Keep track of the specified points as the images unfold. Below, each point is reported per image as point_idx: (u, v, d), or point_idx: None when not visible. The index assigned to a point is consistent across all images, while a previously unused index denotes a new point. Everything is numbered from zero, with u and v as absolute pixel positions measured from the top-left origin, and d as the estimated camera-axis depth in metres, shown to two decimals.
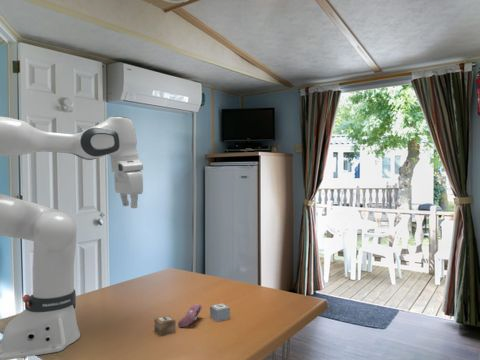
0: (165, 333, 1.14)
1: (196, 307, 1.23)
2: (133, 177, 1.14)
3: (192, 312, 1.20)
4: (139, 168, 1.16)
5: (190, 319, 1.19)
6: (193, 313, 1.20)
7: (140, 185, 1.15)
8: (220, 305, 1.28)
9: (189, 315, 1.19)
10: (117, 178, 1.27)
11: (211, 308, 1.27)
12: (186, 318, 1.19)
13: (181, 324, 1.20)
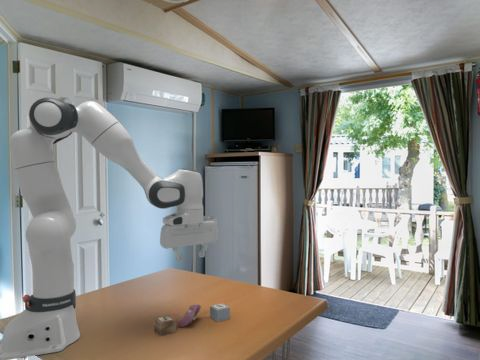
0: (165, 333, 1.14)
1: (195, 307, 1.23)
2: (162, 230, 1.19)
3: (191, 312, 1.20)
4: (168, 223, 1.17)
5: (189, 319, 1.19)
6: (192, 313, 1.20)
7: (163, 240, 1.17)
8: (220, 305, 1.28)
9: (188, 315, 1.20)
10: None
11: (211, 308, 1.27)
12: (185, 318, 1.19)
13: (180, 324, 1.20)
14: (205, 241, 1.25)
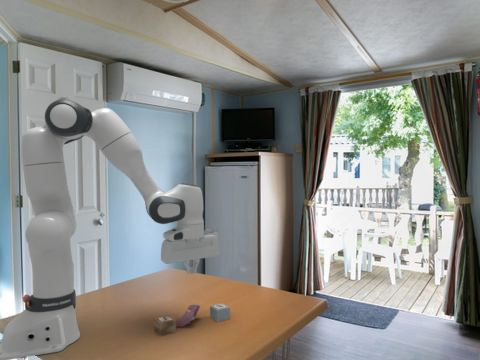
0: (165, 333, 1.14)
1: (194, 307, 1.23)
2: (163, 246, 1.19)
3: (190, 312, 1.20)
4: (168, 239, 1.17)
5: (188, 319, 1.19)
6: (191, 313, 1.20)
7: (164, 255, 1.17)
8: (220, 305, 1.28)
9: (187, 315, 1.20)
10: None
11: (211, 308, 1.27)
12: (184, 318, 1.20)
13: (179, 324, 1.20)
14: (206, 255, 1.25)
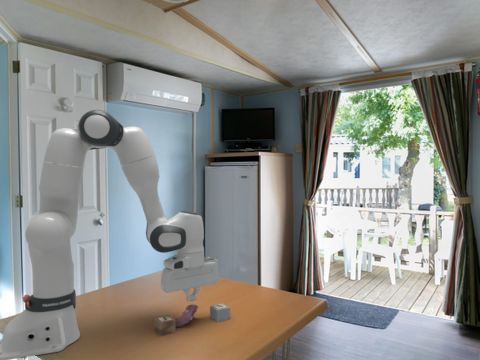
0: (165, 333, 1.14)
1: (192, 307, 1.23)
2: (163, 274, 1.19)
3: (188, 312, 1.20)
4: (168, 267, 1.18)
5: (186, 319, 1.19)
6: (189, 313, 1.20)
7: (164, 284, 1.17)
8: (220, 305, 1.28)
9: (185, 315, 1.20)
10: None
11: (211, 308, 1.27)
12: (182, 318, 1.20)
13: (177, 324, 1.20)
14: (206, 283, 1.25)
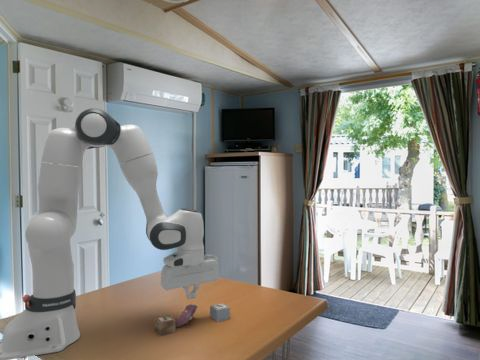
0: (165, 333, 1.14)
1: (191, 307, 1.23)
2: (163, 271, 1.19)
3: (187, 312, 1.20)
4: (168, 265, 1.18)
5: (185, 319, 1.19)
6: (188, 313, 1.20)
7: (164, 281, 1.17)
8: (220, 305, 1.28)
9: (184, 315, 1.20)
10: None
11: (211, 308, 1.27)
12: (181, 318, 1.20)
13: (176, 324, 1.20)
14: (206, 280, 1.25)
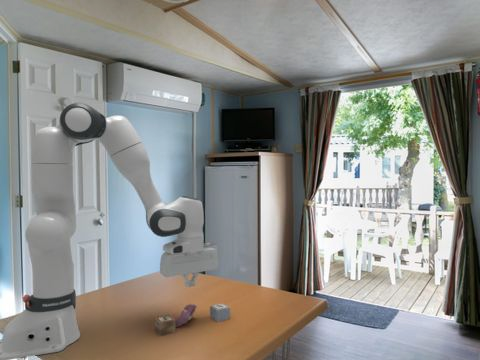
0: (165, 333, 1.14)
1: (190, 307, 1.23)
2: (162, 258, 1.19)
3: (186, 312, 1.21)
4: (168, 252, 1.17)
5: (184, 319, 1.19)
6: (187, 313, 1.20)
7: (163, 268, 1.17)
8: (220, 305, 1.28)
9: (183, 315, 1.20)
10: None
11: (211, 308, 1.27)
12: (180, 318, 1.20)
13: (175, 324, 1.20)
14: (205, 268, 1.25)
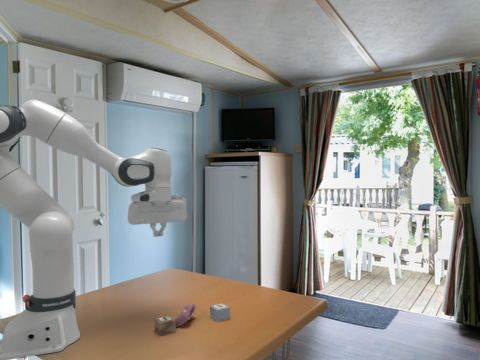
0: (165, 333, 1.14)
1: (190, 307, 1.23)
2: (129, 207, 1.22)
3: (186, 312, 1.21)
4: (135, 200, 1.20)
5: (184, 319, 1.19)
6: (187, 313, 1.20)
7: (130, 216, 1.20)
8: (220, 305, 1.28)
9: (183, 315, 1.20)
10: None
11: (211, 308, 1.27)
12: (180, 318, 1.20)
13: (175, 324, 1.20)
14: (173, 219, 1.28)
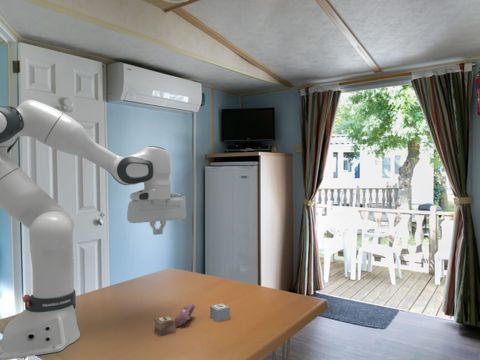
0: (165, 333, 1.14)
1: (189, 307, 1.23)
2: (129, 206, 1.22)
3: (185, 312, 1.21)
4: (134, 198, 1.20)
5: (183, 319, 1.19)
6: (186, 313, 1.20)
7: (129, 214, 1.20)
8: (220, 305, 1.28)
9: (182, 315, 1.20)
10: None
11: (211, 308, 1.27)
12: (179, 318, 1.20)
13: None
14: (172, 217, 1.28)
